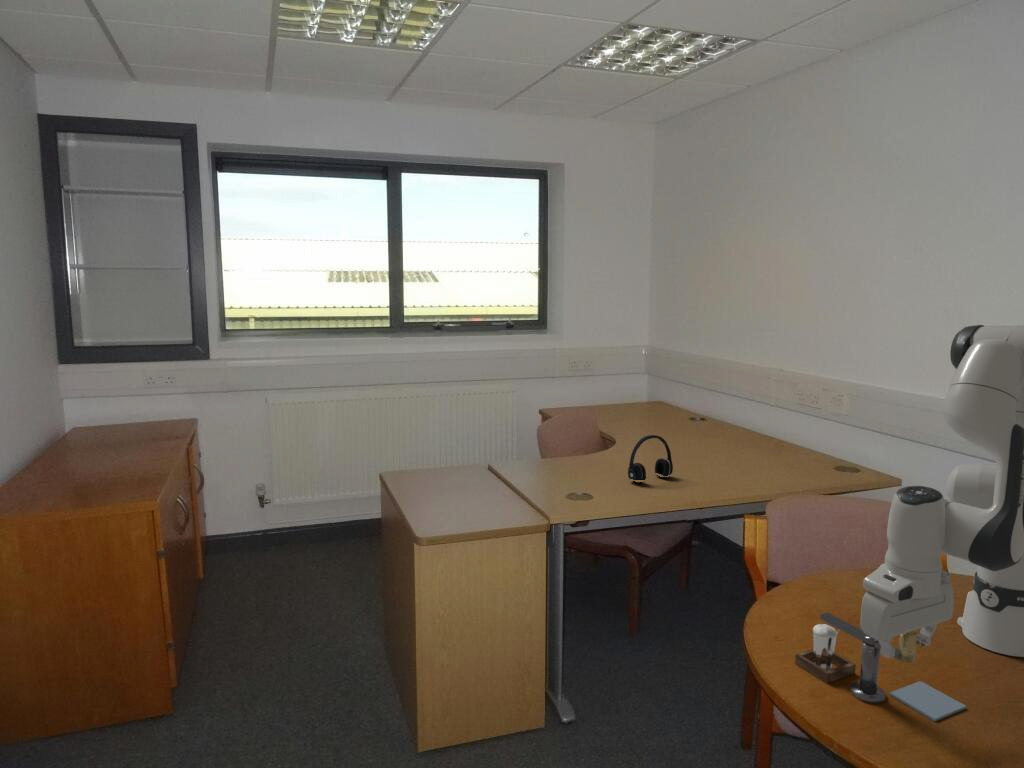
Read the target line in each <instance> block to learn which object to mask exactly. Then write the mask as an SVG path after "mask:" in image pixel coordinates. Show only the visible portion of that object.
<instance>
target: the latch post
mask: <svg viewBox="0 0 1024 768" xmlns="http://www.w3.org/2000/svg"><path fill="white" fill-rule="evenodd" d="M861 646H862V649H861V660H860V661H861V662H860V673H859V681H854V682H852V683H851V684H850V690H849V691H850V693H851V695H852V696H853V697H854V698H856V699H858V700H859V701H862V702H864V703H868V704H882V703H883V702H885V701H886V692H885V691H884V689H883V688H882V687H881V686H879V685H878V680H879V668H880V656H881V653H880V651H881V650H879V649H877V648H875V647H872V646H868V645H866V644H865V643H864V642H863V641H862V645H861Z"/></svg>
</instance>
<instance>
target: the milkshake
mask: <svg viewBox="0 0 1024 768" xmlns="http://www.w3.org/2000/svg"><path fill="white" fill-rule="evenodd" d="M840 631H841V630H840V629H838V630H836V628H835V627H834V626H832V625H831V626H830V624H829V625H828V624H826V623H823V624H822V623H818V624H816V625H814V626H813V628H812V635H813V638H812V639H813V649H814V660H813V663H815V664H817V665H818V666H820V667H822V668H823V669H825V670H827V671H828V670H831V669H833V668H832V667H833V663H832V662H833V656H834V652H835V648H836V642H837V638H838V637H837V636H838V633H839V632H840Z"/></svg>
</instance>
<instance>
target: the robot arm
mask: <svg viewBox="0 0 1024 768" xmlns="http://www.w3.org/2000/svg"><path fill="white" fill-rule="evenodd" d="M949 355H950V362H951V364H952V366H953V367H954V368H955V372H954V374H953V376H952V379H951V381H950V382H951V383H950V385H949V388H948V391H947V393H946V397H945V400H944V404H943V415H944V418H945V421H946V423H947V424H948V426H949V427H950V428H951V429H952V431H954V432H955V433H956V434H957V435H959V437H961V438H963V439H964V440H966V441H968V442H969V443H971V444H973V445H974V446H976V447H978V448H980V449H982V450H984V451H985V452H987V453H989V454H990V455H991V456H992V457H993V458H994V460H995V464H988V463H960V464H958V465H957V466H955V467H953V468H952V470H951V471H950V472H949V473H948V475H947V478H946V482H945V491H946V494H947V497H948V499H946V498H944V495H943V494H942V492H941V491H939V490H937V489H936V488H932V487H929V486H922V485H911V486H910V485H909V486H905V487H901V488H900V489H897V490H896V492H895V493H894V495H893V498H892V500H891V505H890V509H889V512H888V513H889V514H888V521H887V530H886V537H887V543H888V546H887V547H888V548H887V550H886V552H885V556H884V563H881V564H880V565H879V567H878V568H876V570H874V571H873V572H871V573H870V574H868V575H867V576H866V577H864V578H863V581H862V587H863V589H865V590H866V592H865V593H864V595H863V597H862V602H861V608H860V622H859V623H860V629H861V630H862V631H863V632H864V633H865V634H866V635H868V636H870V637H872V638H874V639H876V640H878V641H879V643H880V645H881V650H880V656H882V657H884V658H885V659H890V658H894V656H895V648H896V647H895V646H893V645H892V643H891V642H893V639H894V637H897V636H900V634H904V633H907V632H910V631H914V632H915V631H917V630H920V631H919V633H916V634H917V635H916V644H917V645H919V646H921V647H928V646H931V643H932V642H931V641H932V637H933V635H934V634H935V631H936V630H937V627H938V624H939V623H943V622H946V621H949V620H951V618H952V616H953V615H954V609H955V607H954V606H955V596H954V595H955V593H954V587H953V585H952V583H951V582H952V581H951V580H952V578H951V575H950V574H949V572H948V571H947V570H945V569H943V562H942V557H941V555H942V554H944V555H947V556H951V557H953V558H957V559H960V560H962V561H966V562H970V563H971V564H972V565H976V566H977V571H976V572H975V573H974V577H973V578H972V579H973V581H972V582H973V586H972V589H973V590H971V591H970V590H969V591H968V593H967V596H966V600H965V605H964V610H963V615H962V616H959V617H958V618H957V619H956V622H957V624H958V626H959V627H961V630H962V634H963V636H964V637H965V638H966V639H968V640H969V641H970V642H972V643H973V644H975V645H977V646H979V647H981V648H983V649H986V650H988V651H990V652H994V653H998V654H1002V655H1007V656H1011V657H1021V658H1024V325H1020V324H1018V325H987V326H985V325H983V324H978V325H969V326H965V327H963V328H962V329H961V330H960V331H958V332H957V333H956V334H955V335H954V337H953V339H952V342H951V347H950V353H949ZM892 646H893V647H892ZM894 647H895V648H894Z"/></svg>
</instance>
